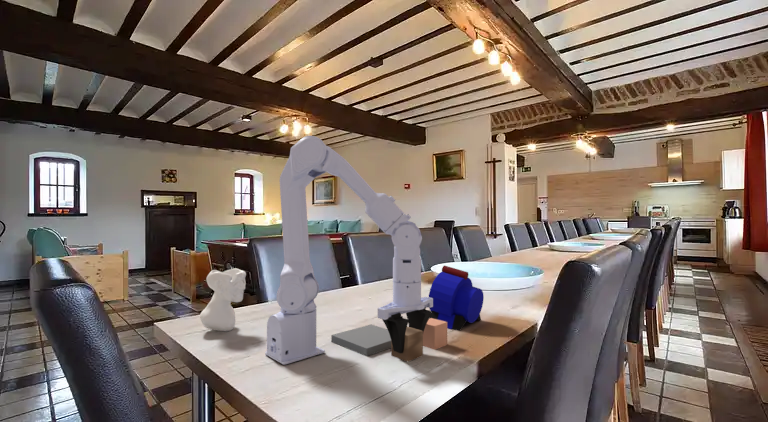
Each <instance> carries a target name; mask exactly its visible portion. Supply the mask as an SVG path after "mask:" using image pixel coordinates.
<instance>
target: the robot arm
mask: <svg viewBox="0 0 768 422" xmlns="http://www.w3.org/2000/svg"><path fill="white" fill-rule="evenodd" d="M282 169H283V170H282V172H281V174H280V176H279V190H280V192H279V193H280V194H279V195H280V210H281V226H282V244H283V258H284V259H283V261H284V264H283V267H282V270H281V272H280V277H279V278H280V279H279V281H280V282H279V287H278V289H277V291H276V301H277V305H278V306H279V307H280V311H278V312H277V313H274V314H272V315H270V316H269V317H268V319H267V322H266V351H265V352H264V354H265V355H266V356H267V357H269V358H271V359H272V360H274V361H277V362H278V363H280V364H282V365H288V364H292V363H294V362H298V361H302V360H304V359H308V358H312V357H314V356H319V355H321V354H324V353H325V352H326V351H325V349H323V348H322V347H319V346H317V305H316V303H315V299H316V298H317V296H318V295H319V291H320V287H319V282H318V280H317V279H316V276H315V274H314V273H315V272H314V267H313V265H312V263H311V259H310V242H309V241H310V240H309V227H308V226H309V225H308V210H307V209H308V207H307V195H306V188H307V186H309V184H311V183H312V182H313V181H314V180H315V179H316V178H317V177H319V176H321V175H323V174H325V173H328V174H329V175H331V176H335V177H338V178H340V179H341V181H342V182H344V183H345V184H346V185H347V186H348V188H350V190H352V192H354V194H356V195H357V196H358V197H359V198H360V200H362V201H363V202H364V204H365V207H364V208H365V210H364V211H365V214H366V215H367V216H368V217H369V218H370V219H371V220H372V221H373V223H375V225H376V226H378V228H379V229H380V230H381V231H382V232H383V233H384V234H385V235H389V236H391V241H392V244H393V252H394V253H393V258H392V301H391V302H389V303H387V304H385V305H383V306H380V307H377V319H381V320H382V322H383V324H384V325H385V327H386V329H388V332H389V334H390V338H391V341H392V345H393V350H394V351H395V352H398V353H403V351H404V344H405V332H406V328H407V326H408V327H411V328H415V329H418V330H422V331H423V332H424V329H425V326H426V324H427V322H428V320H429V318H430V316H431V311H430V309H429V310H428V309H426V308H431V307H433V298H430V297H429V296H423V297H422V258H421V257H420V255H421V248H420V246H421V244H422V241H423V236H422V233H421V229H420V228H419V226H417V224H416V223H415V222H414V221H410V219H412V217H411V216H410V215H409V213H408V214H406V213H405V212H404V211H403V210H402V209H401V208H400V207H399V206H398V205H397V204H396V203H395V202H396V199H395V198H394V197H393V196H392V195H390V196H389V195H388V194H387V193H385V192H384V193H383V192H381V193H380V192H376V191H375V190H374V189H373V188H372V187H371V186H370V185H369V184H368V182H367V181H366V180H365V178H363V177H362V176H361V174H359V173H358V171H357V170H356V169H355V168H354V167H353V166H352V165H351V164H350V163H349V162H348V160H347V159H345V158H344V157H343V156H342V155H341V154H339V153H338V152H337V151H335V150H334V149H333V148H331V147H330V146H329V145H326V144H325V142H324V141H323V140H322V139H321V138H319V137H317V136H315V135H307V136H304V137H302V138H300V140H298V141H297V142H296V143H295V144H293V145H292V146H291V147H290V151H289V156H288V159H287V161H286V163H285V165H284V167H283V168H282ZM403 314H405V315H406V318H405V317H403Z"/></svg>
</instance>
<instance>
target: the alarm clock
mask: <svg viewBox="0 0 768 422" xmlns="http://www.w3.org/2000/svg"><path fill="white" fill-rule="evenodd" d="M429 289H430V290H429V293H428V297H430V298H433V307H431V308H429V307H428V308H429V311H431V316H430V318H433V319H437V320H441V321H445V322H447V330H452V331H458V332H459V331H461V330H462V329H463V327H464V326H465V324H466V323H467V322H468V323H470V324H472V323H473V324H474V322H476V321H480V320H481V321H482V319H481V312H482V309H483V305H484V292H483V290H482V288H479V287H475V286H473V282H472V279H471V278H470V277H469V272H468V271H464V270H462V269H458V268H454V267H451V266H448V265H443V266H442V267H441V272H439V273H438V274H437V275H436V277H434V280H433V282H432V284H431V286H430V288H429ZM430 318H429V319H430Z"/></svg>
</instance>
